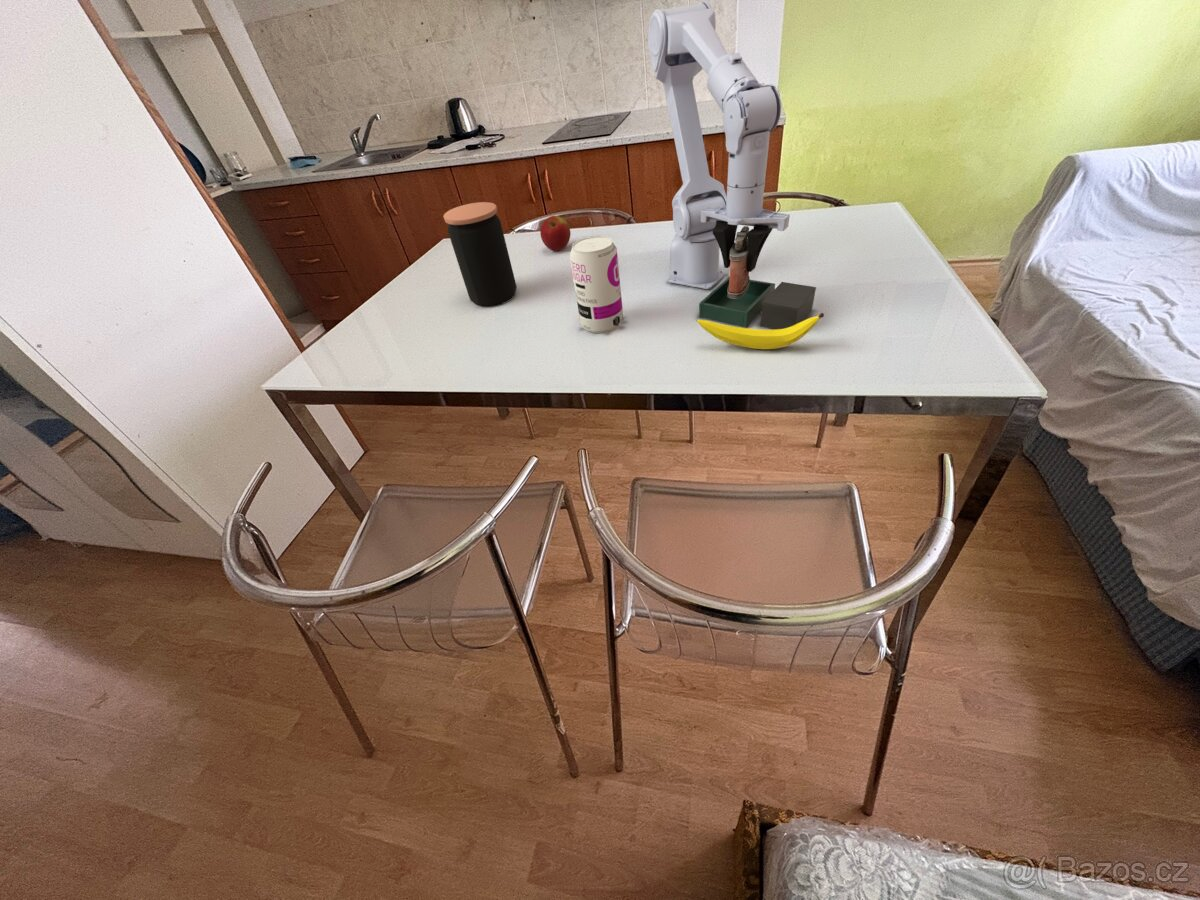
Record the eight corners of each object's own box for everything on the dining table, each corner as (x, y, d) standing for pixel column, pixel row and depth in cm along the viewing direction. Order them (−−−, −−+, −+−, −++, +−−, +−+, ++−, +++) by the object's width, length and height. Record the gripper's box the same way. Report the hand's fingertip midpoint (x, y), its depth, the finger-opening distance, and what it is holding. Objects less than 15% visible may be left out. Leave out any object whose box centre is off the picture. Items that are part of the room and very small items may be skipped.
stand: (759, 326, 84) (762, 302, 81) (778, 305, 89) (781, 281, 86) (794, 333, 81) (798, 308, 78) (811, 311, 86) (816, 287, 83)
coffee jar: (526, 288, 108) (506, 202, 96) (501, 310, 102) (475, 220, 90) (488, 284, 112) (464, 201, 100) (460, 305, 106) (431, 219, 94)
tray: (698, 317, 89) (699, 303, 87) (728, 290, 96) (729, 276, 94) (746, 327, 85) (747, 312, 83) (773, 298, 91) (775, 283, 89)
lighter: (743, 299, 85) (747, 241, 78) (723, 297, 86) (726, 240, 79) (752, 279, 90) (757, 223, 83) (734, 278, 91) (737, 223, 84)
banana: (697, 341, 83) (697, 307, 79) (816, 345, 78) (823, 308, 74) (695, 350, 81) (695, 316, 77) (817, 354, 76) (824, 318, 72)
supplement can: (628, 314, 93) (622, 234, 83) (616, 336, 88) (607, 253, 78) (589, 312, 96) (578, 234, 86) (575, 333, 90) (561, 253, 80)
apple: (537, 254, 123) (530, 221, 118) (555, 242, 128) (549, 210, 122) (561, 257, 120) (555, 223, 114) (579, 245, 124) (574, 212, 119)
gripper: (692, 187, 77) (691, 270, 87) (781, 193, 70) (770, 283, 79) (712, 175, 81) (710, 255, 90) (799, 179, 74) (786, 266, 83)
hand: (739, 267), depth 85 cm, fingers closed on lighter, 4 cm apart
